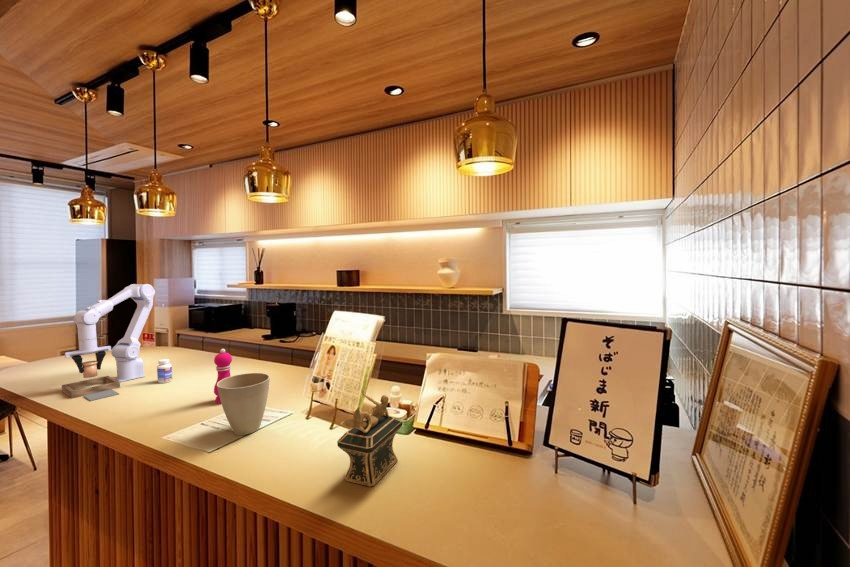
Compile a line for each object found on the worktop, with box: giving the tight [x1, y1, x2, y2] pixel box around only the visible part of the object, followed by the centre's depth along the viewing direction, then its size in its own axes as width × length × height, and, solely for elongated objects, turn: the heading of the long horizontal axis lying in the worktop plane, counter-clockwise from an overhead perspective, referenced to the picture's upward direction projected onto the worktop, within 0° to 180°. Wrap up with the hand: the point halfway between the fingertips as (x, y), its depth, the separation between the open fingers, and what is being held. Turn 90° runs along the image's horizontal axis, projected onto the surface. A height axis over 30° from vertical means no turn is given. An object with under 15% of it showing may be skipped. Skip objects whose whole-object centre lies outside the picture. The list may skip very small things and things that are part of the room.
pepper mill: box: [213, 348, 233, 405], centre depth 145 cm, size 7×7×20 cm
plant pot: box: [217, 372, 271, 436], centre depth 119 cm, size 15×15×16 cm
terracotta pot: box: [82, 360, 98, 379], centre depth 161 cm, size 5×5×6 cm
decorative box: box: [336, 388, 403, 488], centre depth 94 cm, size 20×10×20 cm, turn 157°
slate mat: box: [83, 389, 120, 402], centre depth 154 cm, size 9×9×1 cm
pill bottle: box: [156, 358, 173, 384], centre depth 170 cm, size 5×5×10 cm
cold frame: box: [61, 375, 121, 399], centre depth 161 cm, size 15×15×2 cm
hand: (90, 371), depth 161 cm, fingers closed on terracotta pot, 5 cm apart
